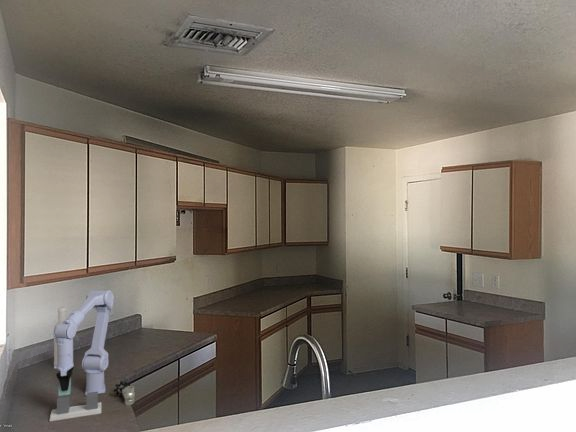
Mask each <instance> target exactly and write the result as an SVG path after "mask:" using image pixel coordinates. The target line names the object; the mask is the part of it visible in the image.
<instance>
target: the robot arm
mask: <svg viewBox="0 0 576 432" xmlns="http://www.w3.org/2000/svg"><path fill="white" fill-rule="evenodd" d="M114 299H115V296H114V293H113V291H111V290H110V289H109V290H108V289H107V290H103V289H102V290H100V289H90V290H89V291H88V293H86V297H85V300H84V302H83V303H82V304H81V305H80V307H79V308H78V310H73V311H71V313H70V314H69V316H68V317H66V320H65V321H64V322H63V323H62V324H58V325H57V326H56V327H55V326H54V327H55V329H54V328H53V333H52V334H53V338H54V337H55V341H56V343H57V365H55V366H54V365H53V369H54V370H55V369H56V370H57V371H58V372H57V373H56V378H57V379H58V380H59V382H60V386H61V390H62V391H67V390H68V387H69V381H70V378H71V379H72V376H73V371H74V367H75V364H74V338H75V337H76V334H77V331H78V330H79V326H80V325H82V323H84V321H85V319H86V318H85V316H86V315H87V314H88V313H89V312H90V311H91V310H92V309H94V310H96V312H97V314H96V319H95V325H94V329H93V330H94V331H93V336H92V341H91V345H90V348H89V349H88V350H87V351H85V352H84V356H83V358H82V362H81V368H82V369H83V370H84V373H86V377H85V378H86V381H85V382H86V383H85V384H86V387H85V393H84V395H85V396H87V393H91V392H98V395H99V394H105V393H106V384H105V371H106V370H107V368H108V367H109V362H110V360H109V353H108V351H107V350H106V349H105V342H106V337H107V332H108V325H109V320H110V315H111V310H112V309H113V305H114Z"/></svg>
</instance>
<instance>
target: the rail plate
mask: <svg viewBox="0 0 576 432" xmlns="http://www.w3.org/2000/svg"><path fill="white" fill-rule="evenodd" d="M100 414H102V402H101V401H100V402H99V394H98V392H91V393H87V395H86V404H81V405H75V406H70V395H62V396H58V397H57V399H56V408H55V409H52V410H51V413H50V416H49V422H53V421H54V422H56V421H61V420H62V421H63V420H67V419H74V418H81V417H86V416H92V415H100Z"/></svg>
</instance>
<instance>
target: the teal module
mask: <svg viewBox="0 0 576 432" xmlns="http://www.w3.org/2000/svg"><path fill="white" fill-rule="evenodd" d="M71 392H72V377H71V378H70V381H69V387H68V390H67V391H62V390H61V386H60V382H59V380H58V397H62V396H70V394H71Z"/></svg>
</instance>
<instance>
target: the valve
mask: <svg viewBox="0 0 576 432" xmlns="http://www.w3.org/2000/svg"><path fill="white" fill-rule="evenodd" d="M114 385H115V387H116V388H113V392H114V393H115V396H116V397H118V396H120V397H121V398H122V397H123V398H124V404H125V405H126V406H131V405H133V404H134V403H135V396H136V393H135V386H133V385H128V381H123V380H120V381H119V384H118V383H115V384H114Z"/></svg>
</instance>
